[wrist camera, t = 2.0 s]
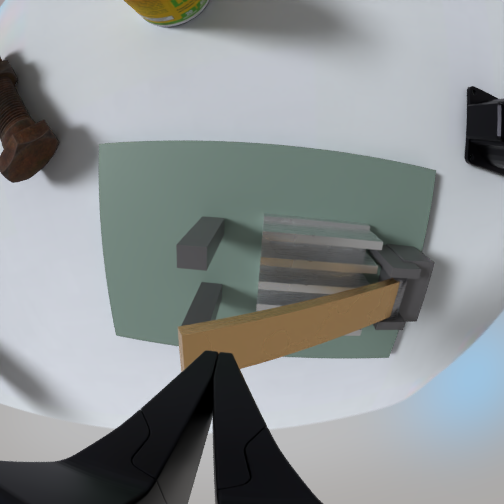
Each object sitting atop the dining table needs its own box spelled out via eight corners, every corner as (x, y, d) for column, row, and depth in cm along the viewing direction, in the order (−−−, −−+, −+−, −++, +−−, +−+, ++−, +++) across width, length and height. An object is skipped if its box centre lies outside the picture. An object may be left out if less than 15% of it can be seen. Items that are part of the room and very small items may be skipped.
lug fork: (224, 217, 20) (206, 247, 14) (221, 298, 22) (207, 348, 16) (202, 216, 20) (176, 244, 14) (201, 296, 22) (181, 345, 16)
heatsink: (366, 223, 19) (384, 238, 16) (348, 313, 21) (359, 338, 18) (264, 213, 19) (263, 226, 16) (256, 307, 22) (254, 334, 18)
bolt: (13, 60, 18) (65, 151, 21) (-23, 91, 16) (23, 189, 19) (-3, 30, 12) (46, 124, 15) (-44, 65, 11) (-5, 172, 14)
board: (429, 169, 18) (436, 170, 17) (385, 350, 24) (388, 357, 23) (105, 143, 19) (99, 144, 18) (120, 329, 24) (116, 335, 23)
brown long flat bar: (399, 271, 17) (411, 277, 16) (388, 310, 18) (399, 317, 17) (175, 319, 11) (182, 334, 10) (180, 372, 12) (187, 388, 11)
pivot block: (414, 246, 19) (443, 269, 15) (400, 300, 21) (423, 330, 17) (369, 242, 20) (393, 266, 15) (357, 298, 21) (375, 331, 17)
